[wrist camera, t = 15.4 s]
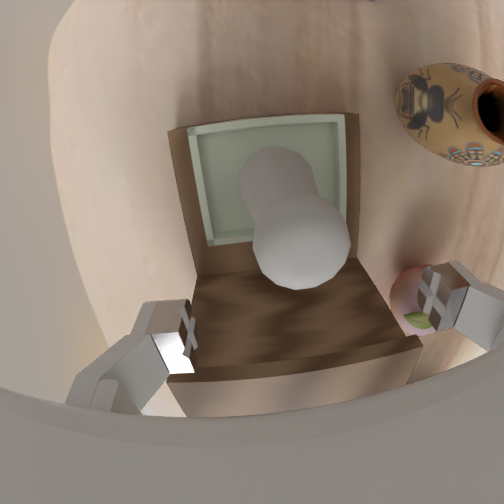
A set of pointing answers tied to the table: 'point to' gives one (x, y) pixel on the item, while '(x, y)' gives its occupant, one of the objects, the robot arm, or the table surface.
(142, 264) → the table surface
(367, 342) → the wooden stand
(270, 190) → the salt shaker
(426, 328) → the decorative fruit
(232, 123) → the tray
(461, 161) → the ceramic vessel
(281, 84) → the table surface
